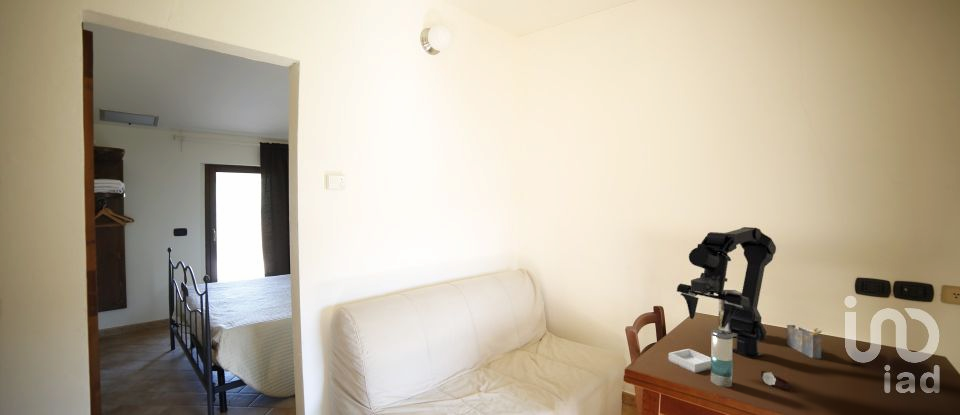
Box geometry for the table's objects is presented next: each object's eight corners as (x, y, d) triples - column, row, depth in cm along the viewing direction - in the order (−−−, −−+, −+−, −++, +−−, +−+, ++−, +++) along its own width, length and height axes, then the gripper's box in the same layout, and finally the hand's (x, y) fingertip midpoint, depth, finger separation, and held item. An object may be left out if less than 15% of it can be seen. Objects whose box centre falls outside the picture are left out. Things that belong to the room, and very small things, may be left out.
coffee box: (746, 338, 140) (747, 295, 139) (727, 336, 141) (728, 294, 141) (735, 329, 148) (736, 289, 148) (717, 328, 150) (718, 288, 149)
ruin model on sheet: (822, 359, 121) (823, 330, 121) (812, 359, 122) (813, 330, 121) (795, 346, 133) (796, 319, 133) (786, 346, 133) (787, 319, 133)
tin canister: (718, 376, 108) (719, 328, 108) (736, 384, 104) (737, 334, 103) (706, 380, 106) (706, 330, 106) (724, 388, 102) (725, 337, 101)
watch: (755, 378, 108) (755, 366, 108) (770, 377, 108) (770, 365, 108) (779, 392, 100) (779, 378, 100) (794, 391, 101) (795, 378, 101)
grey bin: (688, 356, 123) (688, 348, 123) (715, 367, 114) (715, 359, 114) (668, 360, 119) (668, 352, 119) (694, 372, 111) (694, 364, 111)
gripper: (671, 263, 118) (662, 311, 116) (735, 272, 102) (726, 329, 100) (690, 269, 124) (682, 316, 122) (754, 279, 108) (746, 333, 106)
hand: (706, 323), depth 112 cm, fingers open, 9 cm apart
